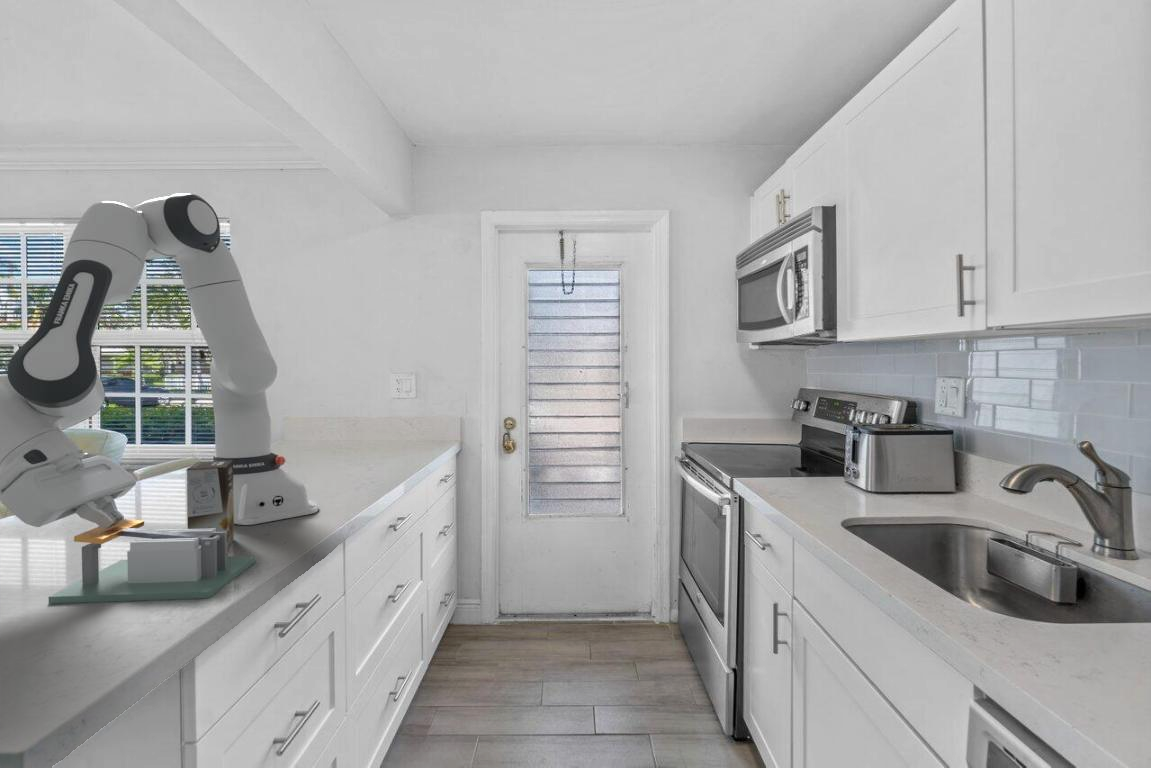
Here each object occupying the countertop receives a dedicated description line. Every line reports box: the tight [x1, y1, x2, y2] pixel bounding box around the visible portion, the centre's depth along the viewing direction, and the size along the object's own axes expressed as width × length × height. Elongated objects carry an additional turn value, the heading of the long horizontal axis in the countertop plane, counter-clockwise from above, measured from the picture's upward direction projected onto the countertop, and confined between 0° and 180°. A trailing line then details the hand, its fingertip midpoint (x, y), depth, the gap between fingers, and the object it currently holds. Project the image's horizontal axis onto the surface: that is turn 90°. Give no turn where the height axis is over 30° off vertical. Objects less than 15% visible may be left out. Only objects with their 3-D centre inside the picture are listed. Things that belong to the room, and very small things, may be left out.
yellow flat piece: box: [73, 518, 212, 545], centre depth 93 cm, size 17×10×1 cm, turn 97°
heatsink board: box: [47, 528, 257, 605], centre depth 94 cm, size 22×16×7 cm
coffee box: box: [186, 460, 235, 551], centre depth 110 cm, size 9×6×16 cm
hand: (115, 524), depth 93 cm, fingers closed, pressing on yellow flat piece
